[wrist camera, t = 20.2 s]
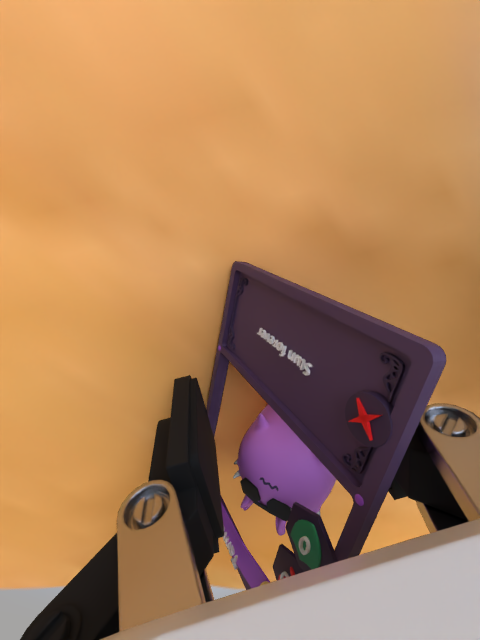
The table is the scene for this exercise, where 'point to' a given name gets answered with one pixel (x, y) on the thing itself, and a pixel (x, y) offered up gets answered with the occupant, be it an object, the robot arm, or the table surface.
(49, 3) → the table surface
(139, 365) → the table surface
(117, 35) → the table surface
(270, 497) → the purple toy package
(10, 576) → the table surface
